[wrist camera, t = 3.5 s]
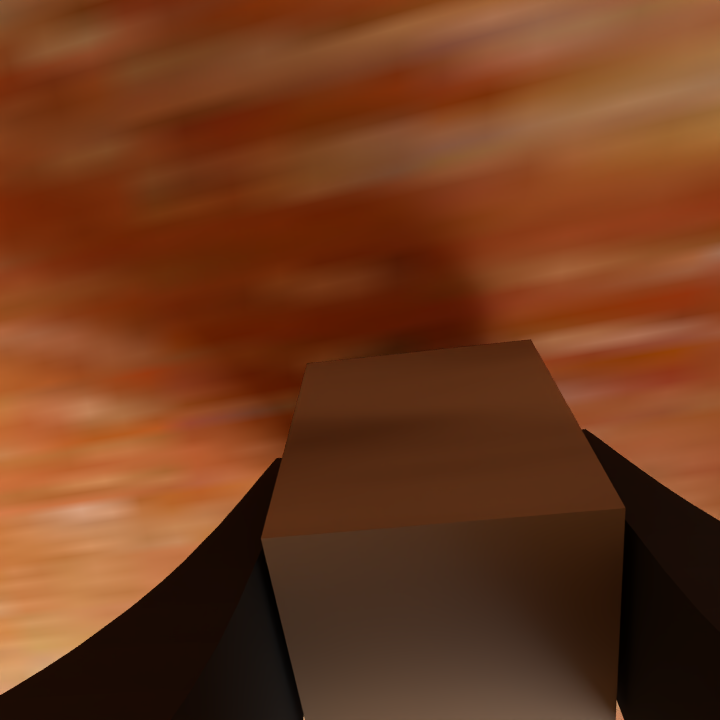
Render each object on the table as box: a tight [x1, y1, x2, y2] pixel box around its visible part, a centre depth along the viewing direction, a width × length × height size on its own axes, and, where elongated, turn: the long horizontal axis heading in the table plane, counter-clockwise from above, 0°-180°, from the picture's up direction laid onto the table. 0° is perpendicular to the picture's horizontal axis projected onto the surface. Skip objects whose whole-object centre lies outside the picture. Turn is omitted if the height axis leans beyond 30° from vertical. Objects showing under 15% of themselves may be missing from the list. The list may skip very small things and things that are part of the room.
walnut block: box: [261, 340, 625, 720], centre depth 10 cm, size 4×4×5 cm
